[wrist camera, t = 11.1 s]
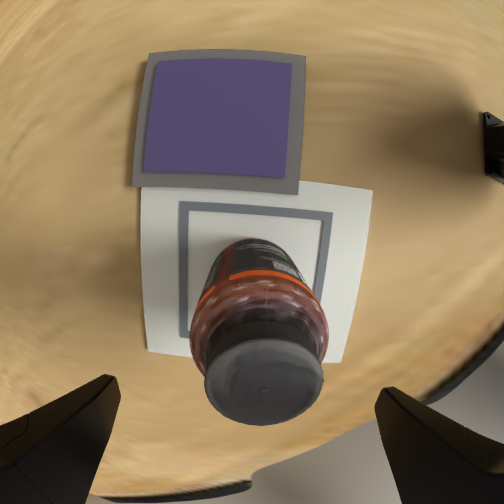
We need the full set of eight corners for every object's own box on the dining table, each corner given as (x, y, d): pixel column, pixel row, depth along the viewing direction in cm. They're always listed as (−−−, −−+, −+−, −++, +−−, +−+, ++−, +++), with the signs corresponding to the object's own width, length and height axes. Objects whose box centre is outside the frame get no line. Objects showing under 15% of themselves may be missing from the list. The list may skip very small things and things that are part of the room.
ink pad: (303, 62, 16) (307, 54, 14) (295, 195, 18) (299, 195, 17) (153, 58, 16) (147, 51, 14) (137, 186, 18) (129, 186, 16)
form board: (370, 190, 18) (373, 190, 18) (339, 359, 21) (341, 363, 21) (144, 172, 18) (141, 172, 17) (149, 348, 21) (147, 352, 20)
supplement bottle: (216, 320, 20) (192, 443, 9) (204, 240, 18) (149, 317, 7) (298, 312, 20) (342, 430, 9) (293, 232, 18) (358, 297, 7)
